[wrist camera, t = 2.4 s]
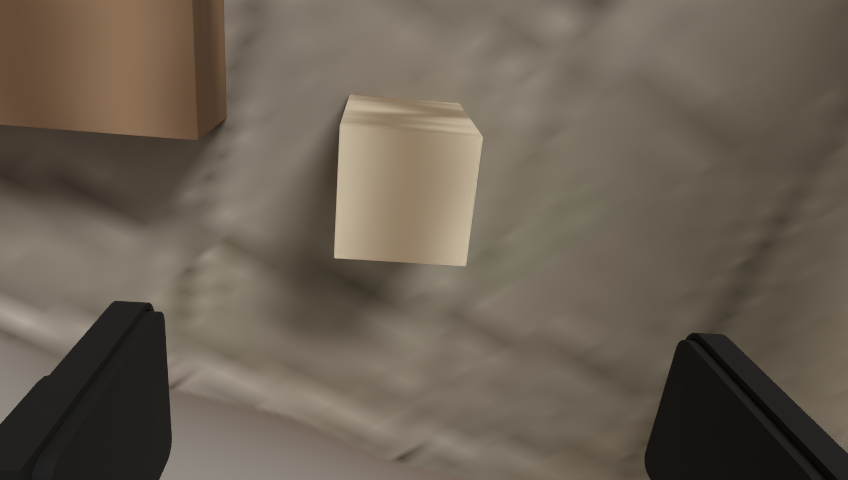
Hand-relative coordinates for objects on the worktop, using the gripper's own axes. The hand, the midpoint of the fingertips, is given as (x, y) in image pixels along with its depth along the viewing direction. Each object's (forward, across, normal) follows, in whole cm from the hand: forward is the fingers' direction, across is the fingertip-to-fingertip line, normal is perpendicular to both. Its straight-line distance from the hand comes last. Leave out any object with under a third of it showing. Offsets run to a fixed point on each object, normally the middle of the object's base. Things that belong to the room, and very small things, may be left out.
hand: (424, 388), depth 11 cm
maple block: (+19, 0, 0) cm, 19 cm away
